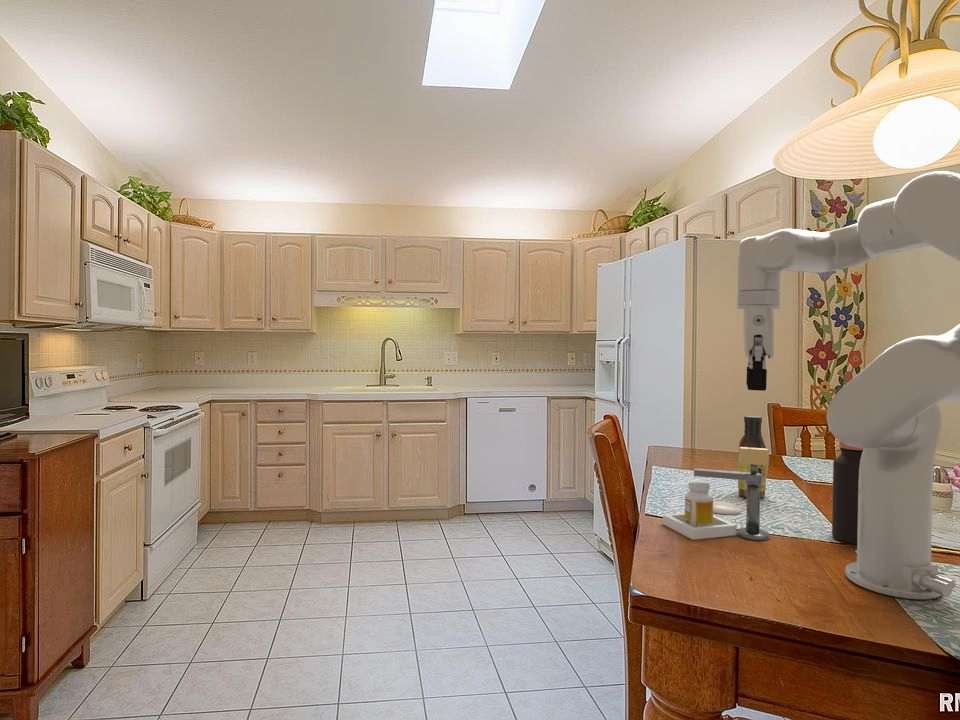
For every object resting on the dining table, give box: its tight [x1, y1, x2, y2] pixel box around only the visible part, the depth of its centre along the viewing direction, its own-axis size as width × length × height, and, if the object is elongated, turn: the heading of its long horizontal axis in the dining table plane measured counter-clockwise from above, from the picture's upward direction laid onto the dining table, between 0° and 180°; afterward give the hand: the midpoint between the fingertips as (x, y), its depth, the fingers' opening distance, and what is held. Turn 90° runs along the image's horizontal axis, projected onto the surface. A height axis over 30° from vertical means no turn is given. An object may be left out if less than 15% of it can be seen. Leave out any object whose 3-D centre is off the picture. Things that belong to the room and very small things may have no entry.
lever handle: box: [693, 447, 769, 486], centre depth 116 cm, size 3×14×7 cm, turn 68°
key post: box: [735, 484, 771, 542], centre depth 115 cm, size 6×6×10 cm
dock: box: [662, 512, 737, 541], centre depth 118 cm, size 10×10×2 cm
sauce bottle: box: [737, 415, 767, 499], centre depth 144 cm, size 7×6×20 cm
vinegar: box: [831, 440, 863, 546], centre depth 112 cm, size 7×7×20 cm
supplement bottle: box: [684, 479, 714, 527], centre depth 118 cm, size 5×5×10 cm
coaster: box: [713, 500, 742, 515], centre depth 133 cm, size 8×8×1 cm
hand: (755, 388), depth 114 cm, fingers open, 9 cm apart
